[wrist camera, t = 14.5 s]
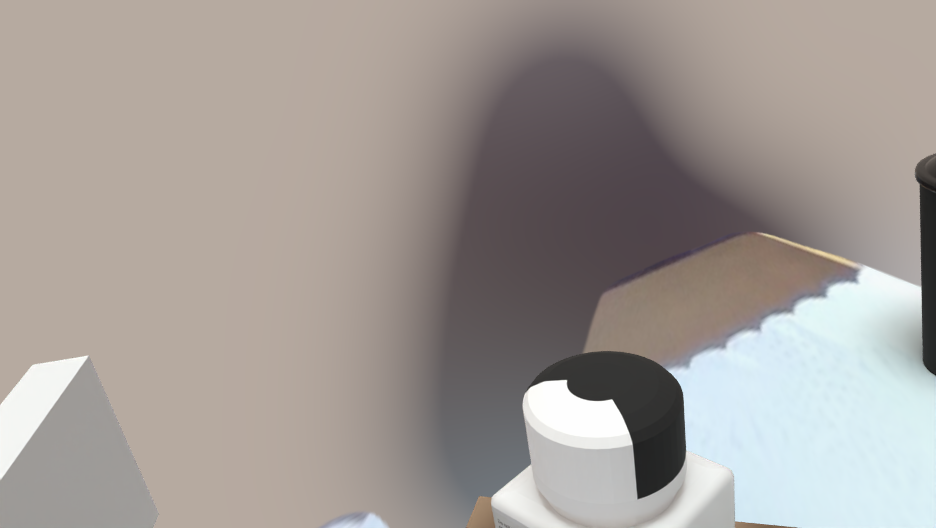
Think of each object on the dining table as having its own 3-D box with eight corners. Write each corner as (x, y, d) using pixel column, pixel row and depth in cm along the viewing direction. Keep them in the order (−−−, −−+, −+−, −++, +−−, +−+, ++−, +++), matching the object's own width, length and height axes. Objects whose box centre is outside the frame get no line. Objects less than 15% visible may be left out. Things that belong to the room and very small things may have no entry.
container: (606, 525, 44) (583, 315, 38) (739, 596, 39) (735, 364, 33) (508, 620, 39) (467, 397, 34) (644, 715, 34) (621, 469, 29)
